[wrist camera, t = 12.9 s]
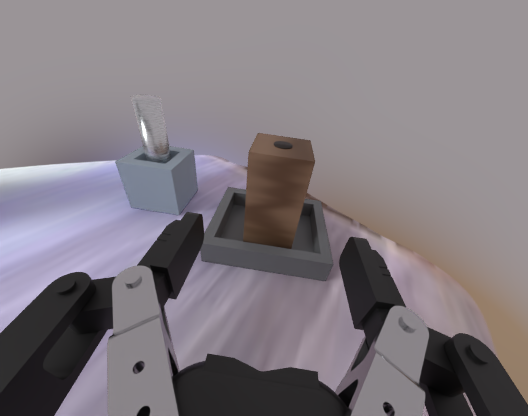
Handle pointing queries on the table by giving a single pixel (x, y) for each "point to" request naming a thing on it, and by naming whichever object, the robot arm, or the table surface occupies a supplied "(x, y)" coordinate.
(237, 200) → the tray
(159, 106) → the cylinder
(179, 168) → the square socket block
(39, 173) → the table surface
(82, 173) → the table surface
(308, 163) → the walnut block
